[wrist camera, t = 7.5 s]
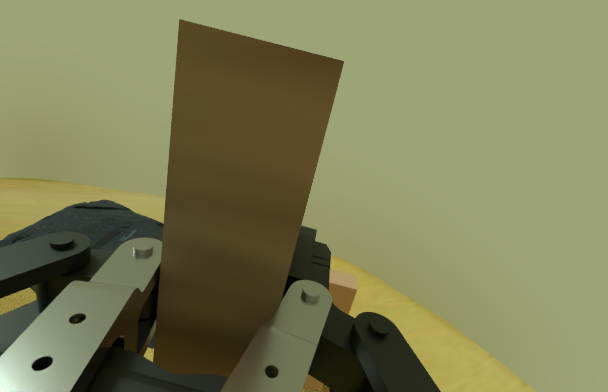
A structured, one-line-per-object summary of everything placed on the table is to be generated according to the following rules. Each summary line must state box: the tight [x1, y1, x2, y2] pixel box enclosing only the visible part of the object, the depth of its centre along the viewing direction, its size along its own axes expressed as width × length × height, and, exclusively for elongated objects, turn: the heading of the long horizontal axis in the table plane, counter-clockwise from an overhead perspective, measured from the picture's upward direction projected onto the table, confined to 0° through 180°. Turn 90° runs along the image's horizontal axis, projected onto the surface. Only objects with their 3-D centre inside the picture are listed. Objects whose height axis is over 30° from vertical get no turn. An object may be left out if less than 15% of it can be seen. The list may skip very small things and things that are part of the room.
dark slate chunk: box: [0, 200, 164, 349], centre depth 32 cm, size 15×22×5 cm
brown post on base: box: [153, 20, 344, 378], centre depth 10 cm, size 9×6×15 cm, turn 174°
